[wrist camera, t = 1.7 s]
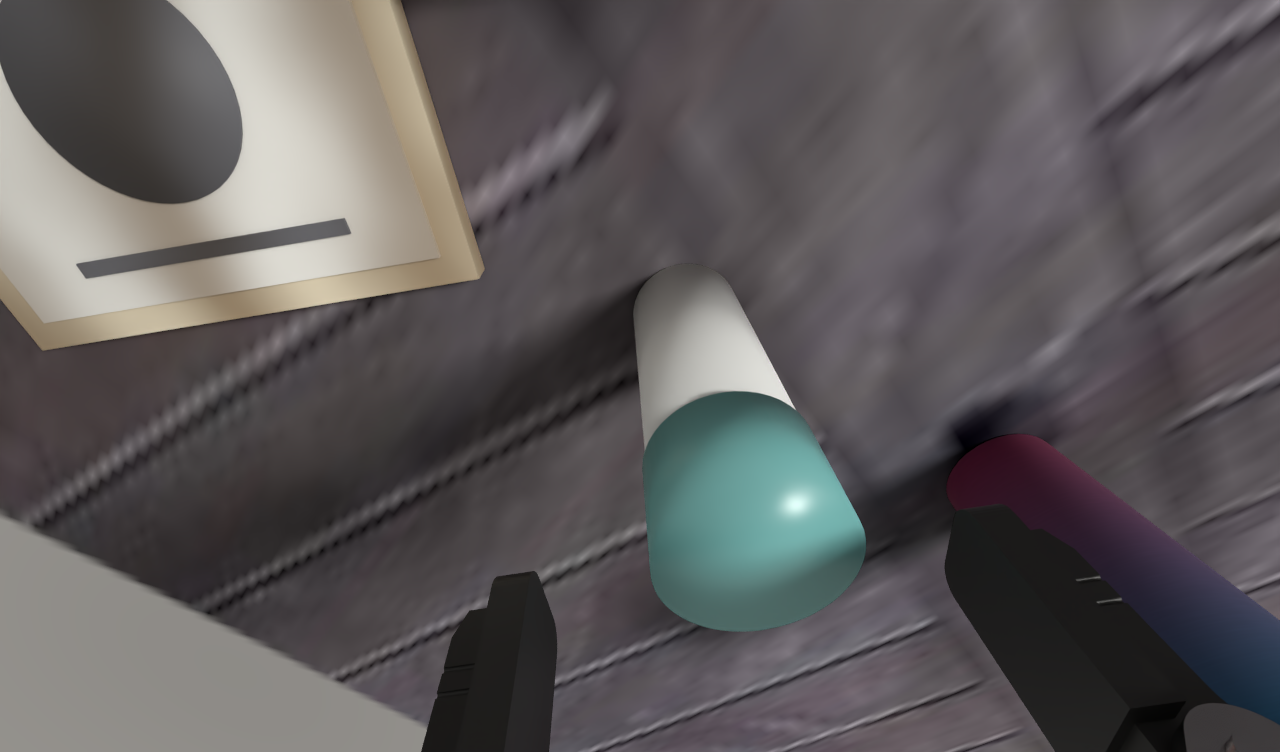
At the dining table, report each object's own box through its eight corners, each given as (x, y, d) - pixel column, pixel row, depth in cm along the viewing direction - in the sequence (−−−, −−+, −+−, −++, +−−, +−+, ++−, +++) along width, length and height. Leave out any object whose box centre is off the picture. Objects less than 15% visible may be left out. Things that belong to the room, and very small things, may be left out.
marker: (735, 252, 20) (873, 466, 9) (741, 352, 22) (860, 616, 11) (622, 270, 20) (634, 501, 10) (639, 368, 22) (665, 643, 12)
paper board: (304, -306, 12) (274, -343, 11) (484, 269, 20) (477, 282, 18) (-332, -173, 13) (-422, -196, 12) (67, 338, 20) (34, 354, 19)
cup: (897, 491, 26) (1179, 915, 13) (1017, 392, 23) (1517, 801, 11) (983, 544, 28) (1295, 951, 15) (1101, 459, 26) (1599, 865, 13)
